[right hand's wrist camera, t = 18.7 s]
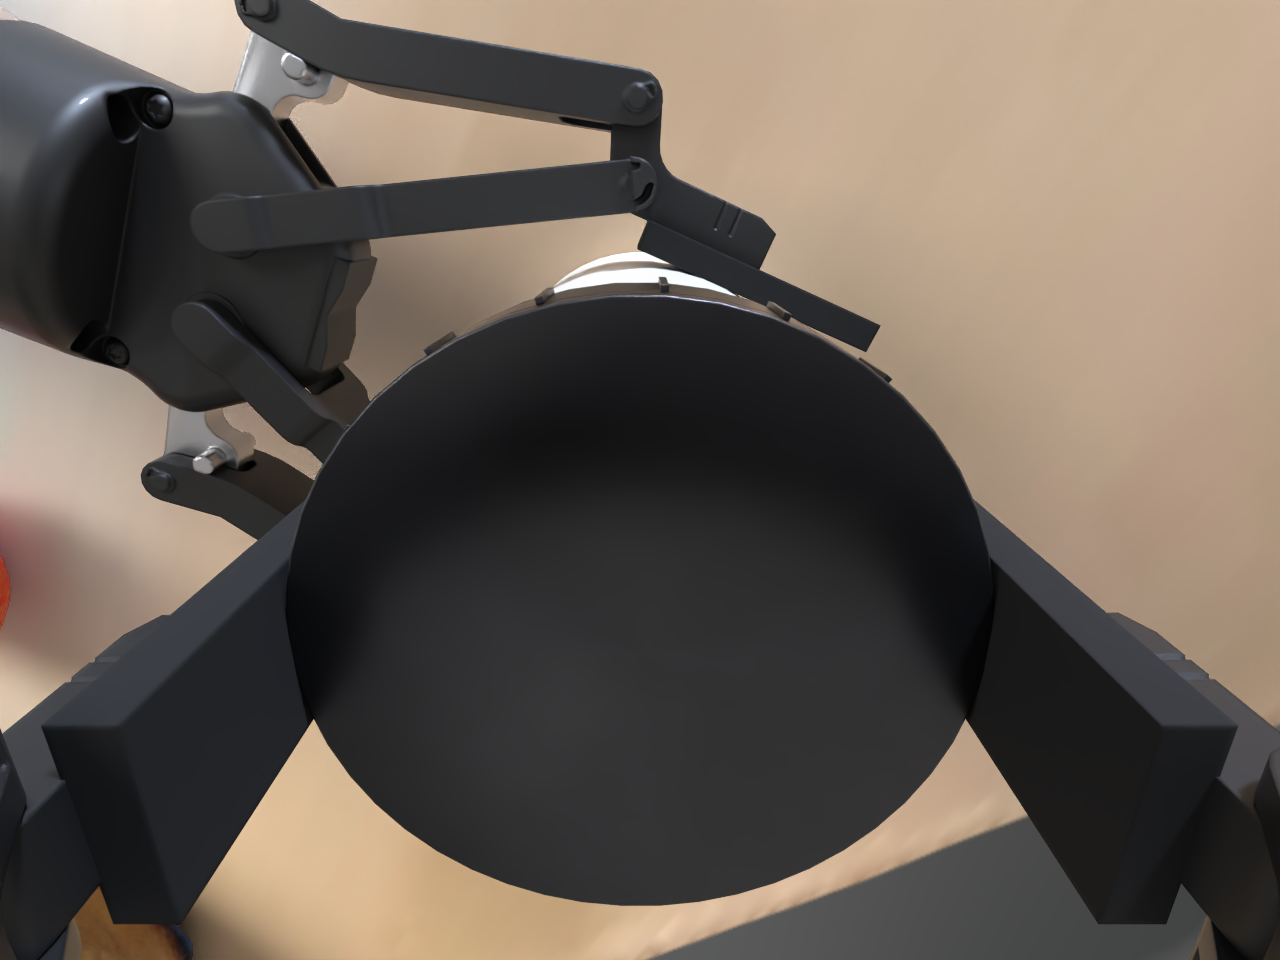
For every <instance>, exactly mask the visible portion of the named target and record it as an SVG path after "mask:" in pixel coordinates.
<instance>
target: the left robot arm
mask: <svg viewBox="0 0 1280 960" xmlns="http://www.w3.org/2000/svg"><path fill="white" fill-rule="evenodd" d="M235 5H236V9H237V13H238V15H239V17H240V19H241V20H242V22H243V23H244V25H245V26H246V27H248V28H249V29H250V30H251V32H250V36H249V39H248V42H247V46H246V49H245V52H244V56H243V59H242V62H241V66H240V69H239V73H238V76H237V79H236V83H235V86H234V89H233V92H230V91H221V92H215V93H206V94H204V93H194V92H192V91H189V90H187V89H185V88H182V87H180V86H178V85H176V84H173V83H171V82H169V81H167V80H164V79H162V78H160V77H158V76H155V75H153V74H151V73H149V72H146V71H144V70H142V69H140V68H137V67H135V66H133V65H130V64H128V63H126V62H124V61H121V60H119V59H117V58H115V57H112V56H110V55H108V54H106V53H103V52H101V51H99V50H97V49H94V48H92V47H90V46H88V45H85V44H83V43H81V42H78V41H76V40H74V39H72V38H69V37H67V36H65V35H63V34H60V33H58V32H56V31H54V30H51V29H49V28H46V27H44V26H41V25H39V24H35V23H30V22H26V21H20V20H19V19H18V18H16V17H15V16H14V15H12V14H11V13H10V12H8V11H7V10H6V9H4V8H2V7H0V328H1V329H4V330H7V331H9V332H12V333H14V334H17V335H20V336H22V337H25V338H27V339H30V340H33V341H35V342H38V343H41V344H43V345H46V346H48V347H51V348H54V349H56V350H59V351H61V352H64V353H67V354H70V355H73V356H76V357H79V358H82V359H86V360H89V361H93V362H97V363H101V364H104V365H108V366H112V367H115V368H119V369H122V370H124V371H126V372H128V373H130V374H132V375H133V376H135V377H136V378H138V379H139V380H140V381H142V382H143V383H144V384H145V385H146V386H148V387H149V388H150V389H151V390H152V391H153V392H154V393H155V394H156V395H157V396H158V397H159V398H160V399H161V400H163V401H164V402H165V403H167V404H169V413H168V423H167V434H166V444H165V453H164V455H163V456H162V457H160V458H158V459H156V460H154V461H152V462H150V463H148V464H147V465H146V466H145V467H144V468H143V470H142V473H141V480H142V484H143V486H144V488H145V489H146V491H147V492H148V493H150V494H151V495H152V496H153V497H155V498H157V499H160V500H162V501H166V502H169V503H173V504H176V505H180V506H183V507H187V508H191V509H194V510H198V511H201V512H205V513H208V514H212V515H215V516H219V517H221V518H223V519H225V520H226V521H228V522H229V523H231V524H233V525H234V526H236V527H238V528H239V529H241V530H242V531H244V532H246V533H247V534H249V535H250V536H252V537H254V538H255V539H257V540H259V539H260V538H261V537H262V536H264V535H265V534H266V533H267V532H268V531H269V530H271V529H272V528H273V527H274V526H275V525H277V524H278V523H279V522H280V521H281V520H282V519H284V518H285V517H286V516H287V515H288V514H289V513H291V512H292V511H293V510H294V509H295V508H296V507H298V506H299V505H300V504H301V503H302V502H303V501H305V500H306V499H307V496H308V494H309V492H310V490H311V487H312V485H313V483H314V480H312V479H311V478H309V477H308V476H306V475H305V474H303V473H301V472H300V471H298V470H297V469H295V468H294V467H292V466H290V465H289V464H287V463H285V462H283V461H282V460H280V459H278V458H276V457H273V456H271V455H269V454H267V453H264V452H261V451H258V450H256V449H254V447H255V444H256V443H255V439H254V437H253V436H252V435H251V434H250V433H247V432H240V431H238V430H237V429H235V428H233V427H232V426H231V425H230V424H229V423H228V422H227V420H226V419H225V417H224V414H223V409H222V408H223V407H227V406H232V405H236V404H240V403H245V402H248V403H249V404H250V405H251V406H252V407H253V408H254V409H255V410H256V411H257V412H258V413H259V414H260V415H261V416H262V417H263V418H264V419H265V420H266V421H267V422H268V423H269V424H270V425H271V426H272V427H273V428H274V429H275V430H276V431H277V432H278V433H279V434H280V435H281V436H282V437H283V438H284V439H285V440H287V441H288V442H290V443H292V444H294V445H298V446H302V447H305V448H307V449H308V450H309V451H311V452H312V453H313V454H314V455H315V456H316V457H317V458H318V459H319V460H320V461H321V462H322V463H324V462H325V460H326V459H327V457H328V456H329V454H330V453H331V451H332V449H333V448H334V446H335V445H336V443H337V442H338V440H339V438H340V437H341V435H342V434H343V432H344V428H345V427H346V425H347V424H349V423H350V422H351V421H353V420H354V419H356V418H357V416H358V415H359V414H360V413H361V412H362V411H363V410H364V409H365V407H366V406H367V405H368V404H369V403H370V401H369V399H368V395H367V390H366V389H365V387H364V385H363V384H362V383H361V382H360V380H359V379H358V378H357V377H356V376H355V375H354V374H353V373H352V372H351V371H350V370H349V369H348V368H347V367H346V365H345V364H344V363H343V362H344V361H346V360H348V359H349V357H350V353H351V350H352V346H353V343H354V339H355V336H356V306H357V304H358V303H359V301H360V299H361V298H362V296H363V295H364V293H365V292H366V290H367V288H368V287H369V285H370V283H371V280H372V276H373V273H374V269H375V266H376V262H377V258H375V257H373V256H371V248H370V242H369V239H378V238H387V237H397V236H407V235H416V234H426V233H436V232H446V231H455V230H465V229H475V228H485V227H495V226H505V225H514V224H524V223H534V222H544V221H554V220H564V219H573V218H583V217H593V216H603V215H613V214H623V213H632V214H634V215H636V216H638V217H641V218H643V219H645V220H647V223H646V226H645V228H644V231H643V233H642V236H641V238H640V241H639V243H638V248H637V249H638V250H640V251H643V252H645V253H647V254H649V255H651V256H654V257H656V258H658V259H660V260H663V261H665V262H667V263H669V264H671V265H674V266H676V267H678V268H680V269H683V270H685V271H687V272H689V273H691V274H694V275H696V276H698V277H700V278H702V279H705V280H707V281H709V282H711V283H714V284H716V285H718V286H720V287H722V288H725V289H727V290H729V291H731V292H734V293H736V294H738V295H740V296H742V297H745V298H747V299H749V300H751V301H754V302H756V303H759V304H761V305H763V306H767V304H768V302H769V301H770V302H773V303H775V304H777V305H778V306H780V307H781V308H783V309H784V310H786V311H787V312H789V313H790V314H792V316H791V318H793V319H795V320H797V321H799V322H800V323H802V324H805V325H807V326H809V327H811V328H813V329H816V330H818V331H820V332H822V333H825V334H827V335H829V336H831V337H833V338H836V339H838V340H840V341H842V342H845V343H847V344H849V345H851V346H853V347H856V348H858V349H860V350H862V351H865V352H866V351H867V350H868V348H869V346H870V344H871V342H872V340H873V339H874V337H875V335H876V333H877V331H878V329H879V327H880V326H881V325H878V324H876V323H874V322H872V321H870V320H868V319H865V318H863V317H861V316H859V315H857V314H854V313H852V312H850V311H848V310H846V309H844V308H841V307H839V306H837V305H835V304H833V303H830V302H828V301H826V300H824V299H822V298H820V297H817V296H815V295H813V294H811V293H809V292H806V291H804V290H802V289H800V288H798V287H796V286H793V285H791V284H789V283H787V282H785V281H782V280H780V279H778V278H776V277H774V276H772V275H769V274H767V273H765V272H763V271H761V270H760V267H761V265H762V263H763V261H764V259H765V257H766V255H767V252H768V250H769V248H770V246H771V244H772V242H773V240H774V238H775V235H776V234H775V232H774V231H773V230H772V229H771V228H770V227H769V226H768V224H767V223H766V222H765V221H764V220H763V219H762V218H760V217H758V216H756V215H754V214H752V213H750V212H748V211H745V210H743V209H741V208H739V207H737V206H735V205H733V204H731V203H728V202H726V201H724V200H722V199H720V198H718V197H716V196H714V195H711V194H709V193H707V192H705V191H703V190H701V189H699V188H697V187H694V186H692V185H690V184H688V183H686V182H684V181H682V180H679V179H678V178H676V177H675V176H673V175H672V174H671V173H670V172H669V171H668V170H667V169H666V167H665V165H664V163H663V161H662V158H661V154H660V133H661V116H662V103H663V96H662V89H661V86H660V84H659V81H658V80H657V79H656V78H655V77H654V76H653V75H652V74H651V73H650V72H648V71H645V70H643V69H640V68H634V67H628V66H622V65H616V64H610V63H604V62H598V61H592V60H586V59H580V58H574V57H568V56H562V55H556V54H550V53H544V52H538V51H532V50H526V49H520V48H514V47H508V46H502V45H496V44H490V43H484V42H478V41H472V40H466V39H460V38H454V37H448V36H442V35H436V34H430V33H424V32H418V31H412V30H406V29H400V28H394V27H388V26H382V25H376V24H370V23H364V22H358V21H352V20H346V19H341V18H339V17H337V16H336V15H334V14H332V13H331V12H329V11H327V10H325V9H324V8H322V7H320V6H319V5H317V4H315V3H313V2H312V1H310V0H235ZM348 82H350V83H352V84H354V85H357V86H359V87H361V88H364V89H366V90H369V91H372V92H375V93H378V94H382V95H386V96H390V97H395V98H400V99H407V100H413V101H419V102H425V103H431V104H437V105H444V106H450V107H456V108H462V109H468V110H475V111H481V112H487V113H493V114H499V115H505V116H512V117H518V118H524V119H530V120H536V121H543V122H549V123H555V124H561V125H567V126H574V127H580V128H586V129H592V130H598V131H604V132H611V154H610V161H604V162H594V163H584V164H575V165H565V166H556V167H546V168H536V169H527V170H517V171H508V172H498V173H488V174H479V175H469V176H460V177H450V178H441V179H431V180H421V181H412V182H402V183H393V184H383V185H361V186H349V187H339V188H338V187H337V186H336V184H335V183H334V181H333V180H332V178H331V177H330V176H329V174H328V173H327V171H326V170H325V168H324V167H323V165H322V164H321V162H320V161H319V160H318V158H317V157H316V155H315V154H314V152H313V151H312V149H311V148H310V147H309V145H308V144H307V142H306V141H305V139H304V138H303V136H302V135H301V134H300V132H299V131H298V129H297V128H296V126H295V125H294V124H293V122H292V121H291V120H290V118H289V115H290V113H291V111H292V109H293V108H294V107H295V106H296V105H298V104H300V103H302V102H306V101H312V102H317V103H321V104H333V103H335V102H337V101H338V100H339V99H341V98H342V96H343V95H344V93H345V91H346V88H347V85H348ZM305 388H307V389H308V390H309V391H310V392H311V393H310V392H308V391H307V390H306V389H305Z"/></svg>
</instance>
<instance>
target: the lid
mask: <svg viewBox="0 0 1280 960" xmlns="http://www.w3.org/2000/svg"><path fill="white" fill-rule="evenodd" d="M791 316H792V314H790V313H789V312H787V311H786V310H784V309H783V308H781V307H780V306H778V305H777V304H775V303H773V302H770V301H769V302H768V304H767V306H763V305H761V304H759V303H756V302H754V301H751V300H748V299H744V298H740V297H737V296H733V295H729V294H726V293H722V292H719V291H715V290H711V289H707V288H700V287H692V286H685V285H677V284H670V283H668V281H667V278H666V277H659V280H658V282H656V283H609V284H602V285H595V286H588V287H580V288H573V289H568V290H564V291H561V292H557V293H555V292H554V288H553V287H551V288H547V289H546V290H544V291H543V292H542V293H541V294H539V295H538V296H537V297H535V298H534V299H532V300H529V301H525V302H523V303H521V304H518V305H516V306H514V307H511V308H509V309H507V310H505V311H502V312H500V313H498V314H495V315H493V316H491V317H489V318H486V319H484V320H482V321H481V322H479V323H477V324H476V325H474V326H473V327H471V328H469V329H468V330H466V331H464V332H463V333H461V334H460V335H458V336H455V334H454V333H453V332H451V333H449V334H448V335H446V336H444V337H443V338H441V339H440V340H438V341H436V342H435V343H433V344H432V345H430V346H428V347H427V348H425V349H424V352H425V353H426V354H427V356H426V357H424V358H422V359H421V360H420V361H418V362H416V363H415V364H413V365H412V366H411V367H410V368H409V369H407V370H406V371H405V372H404V373H403V374H401V375H400V376H399V377H398V378H397V379H395V380H394V381H393V382H392V383H391V384H389V385H388V386H387V387H386V388H385V389H384V390H382V391H381V392H380V393H379V394H378V395H376V396H375V397H374V398H373V399H372V401H371V402H370V403H369V404H368V405H367V406H366V407H365V409H364V410H363V411H362V412H361V413H360V414H359V415H358V416H357V418H356V419H354V420H353V421H351V422H350V423H349V424H347V425H346V427H345V428H344V432H343V434H342V435H341V437H340V438H339V440H338V442H337V443H336V445H335V446H334V448H333V449H332V451H331V453H330V454H329V456H328V457H327V459H326V460H325V462H324V463H323V465H322V467H321V468H320V470H319V471H318V474H317V476H316V478H315V480H314V483H313V485H312V487H311V490H310V492H309V494H308V496H307V499H306V501H305V503H304V505H303V508H302V510H301V513H300V517H299V521H298V524H297V528H296V532H295V536H294V540H293V543H292V547H291V551H290V559H289V569H288V579H287V588H286V606H287V624H288V635H289V640H290V645H291V650H292V654H293V659H294V664H295V669H296V674H297V677H298V680H299V683H300V686H301V688H302V691H303V694H304V697H305V699H306V702H307V705H308V708H309V710H310V712H311V714H312V716H313V718H314V720H315V722H316V724H317V726H318V727H319V729H320V731H321V733H322V735H323V737H324V739H325V741H326V743H327V744H328V746H329V747H330V749H331V750H332V751H333V753H334V754H335V756H336V757H337V758H338V760H339V761H340V763H341V764H342V766H343V767H344V768H345V770H346V771H347V773H348V774H349V775H350V777H351V778H352V779H353V780H354V781H355V782H356V783H357V784H358V785H359V786H360V787H361V789H362V790H363V791H364V792H365V793H366V794H367V795H368V796H369V797H370V798H371V799H372V801H373V802H374V803H375V804H376V805H377V806H379V807H380V808H381V809H382V810H383V811H384V812H386V813H387V814H388V815H389V816H390V817H391V818H393V819H394V820H395V821H396V822H397V823H398V824H400V825H401V826H402V827H403V828H404V829H405V830H407V831H408V832H410V833H411V834H413V835H414V836H416V837H417V838H419V839H420V840H422V841H423V842H425V843H426V844H427V845H429V846H430V847H432V848H433V849H435V850H436V851H438V852H440V853H442V854H444V855H445V856H447V857H449V858H451V859H453V860H455V861H457V862H459V863H460V864H462V865H464V866H466V867H468V868H470V869H472V870H474V871H477V872H479V873H482V874H484V875H487V876H489V877H492V878H494V879H496V880H499V881H501V882H504V883H506V884H509V885H513V886H516V887H520V888H523V889H526V890H530V891H533V892H537V893H540V894H543V895H548V896H553V897H559V898H564V899H569V900H574V901H580V902H587V903H598V904H609V905H620V906H661V905H671V904H681V903H691V902H700V901H705V900H710V899H716V898H721V897H726V896H731V895H736V894H740V893H743V892H746V891H750V890H753V889H756V888H760V887H763V886H766V885H770V884H773V883H776V882H778V881H781V880H783V879H785V878H788V877H790V876H793V875H795V874H798V873H800V872H802V871H805V870H807V869H810V868H812V867H813V866H815V865H817V864H819V863H821V862H823V861H825V860H826V859H828V858H830V857H832V856H834V855H836V854H838V853H839V852H841V851H843V850H845V849H846V848H848V847H849V846H851V845H852V844H853V843H855V842H856V841H858V840H859V839H861V838H862V837H864V836H865V835H867V834H868V833H869V832H871V831H872V830H874V829H875V828H877V827H878V826H879V825H880V824H881V823H882V822H883V821H885V820H886V819H887V818H888V817H889V816H890V815H891V814H893V813H894V812H895V811H896V810H897V809H898V808H900V807H901V806H902V805H903V804H904V803H905V802H906V801H907V800H908V799H909V798H910V797H911V796H912V794H913V793H914V792H915V791H916V790H917V789H918V788H919V787H920V786H921V785H922V783H923V782H924V781H925V780H926V779H927V778H928V777H929V776H930V775H931V773H932V772H933V770H934V769H935V768H936V766H937V765H938V763H939V762H940V760H941V759H942V758H943V756H944V755H945V753H946V752H947V750H948V749H949V748H950V746H951V745H952V743H953V742H954V740H955V738H956V736H957V734H958V732H959V730H960V728H961V726H962V724H963V722H964V721H965V719H966V717H967V715H968V713H969V711H970V709H971V706H972V704H973V701H974V698H975V695H976V692H977V690H978V687H979V684H980V681H981V678H982V676H983V671H984V666H985V661H986V656H987V652H988V647H989V642H990V637H991V631H992V613H993V583H992V574H991V565H990V556H989V549H988V545H987V541H986V538H985V534H984V530H983V527H982V523H981V519H980V516H979V512H978V509H977V506H976V504H975V502H974V500H973V498H972V495H971V493H970V491H969V489H968V486H967V484H966V482H965V480H964V477H963V475H962V473H961V471H960V469H959V467H958V466H957V464H956V462H955V461H954V460H953V458H952V456H951V455H950V453H949V452H948V450H947V449H946V447H945V446H944V444H943V443H942V441H941V440H940V438H939V436H938V435H937V433H936V432H935V430H934V429H933V428H932V427H931V426H930V425H929V424H928V423H927V422H926V420H925V419H924V418H923V417H922V416H921V415H920V414H919V413H918V411H917V410H916V409H915V408H914V407H913V406H912V405H911V404H910V403H909V401H908V400H907V399H906V398H905V397H904V396H903V395H902V394H901V393H900V392H898V391H897V390H896V389H895V388H894V387H892V386H891V385H890V384H889V382H890V381H891V380H892V378H890V377H889V376H888V375H887V374H886V373H884V372H882V371H881V370H879V369H878V368H876V367H875V366H873V365H872V364H870V363H869V362H867V361H865V360H864V359H862V358H861V357H860V358H859V359H857V358H856V357H854V356H853V355H851V354H850V353H848V352H847V351H845V350H844V349H842V348H840V347H839V346H837V345H836V344H834V343H833V342H831V341H830V340H828V339H826V338H825V337H823V336H822V335H820V334H818V333H817V332H815V331H813V330H812V329H810V328H808V327H807V326H805V325H804V324H802V323H800V322H799V321H797V320H795V319H793V318H791Z"/></svg>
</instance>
